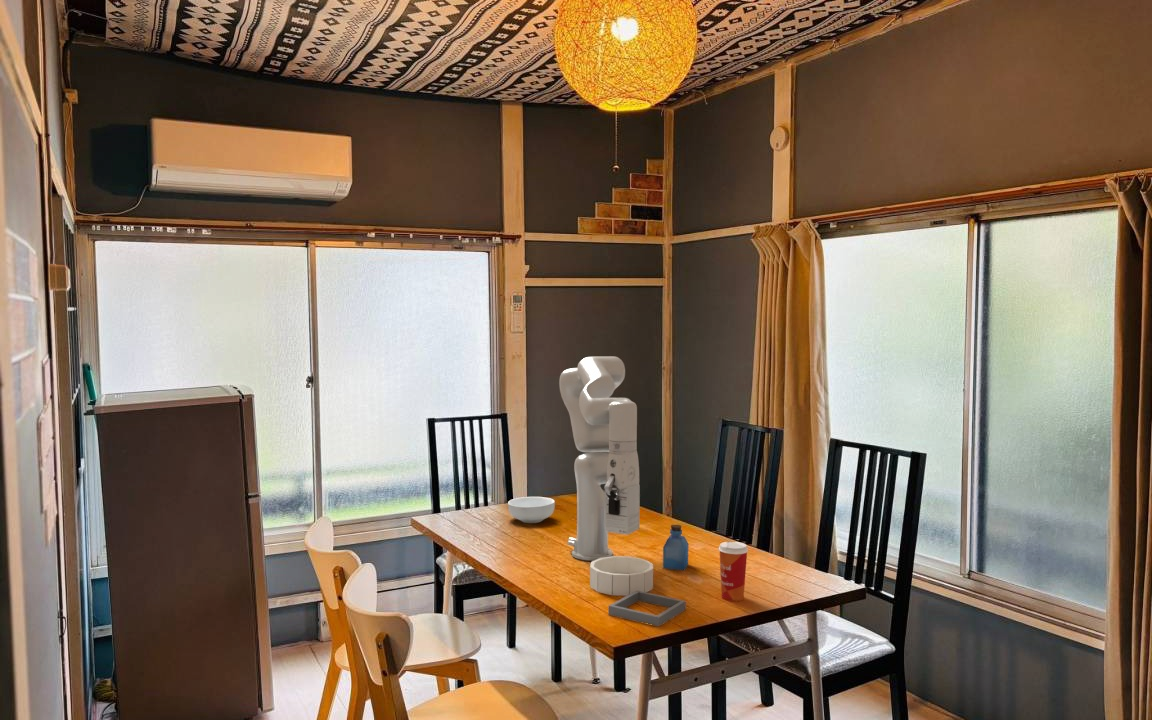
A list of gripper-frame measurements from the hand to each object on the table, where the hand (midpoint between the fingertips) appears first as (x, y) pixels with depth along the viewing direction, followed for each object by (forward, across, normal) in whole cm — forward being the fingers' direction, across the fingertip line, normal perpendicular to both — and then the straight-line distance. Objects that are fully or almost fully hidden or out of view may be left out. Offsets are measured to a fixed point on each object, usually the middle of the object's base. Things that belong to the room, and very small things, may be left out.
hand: (622, 510), depth 225 cm
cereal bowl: (+21, +43, +64) cm, 80 cm away
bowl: (+20, 0, 0) cm, 20 cm away
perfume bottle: (+21, +24, -4) cm, 32 cm away
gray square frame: (+20, -14, -16) cm, 30 cm away
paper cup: (+21, +8, -29) cm, 37 cm away
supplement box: (+6, 0, 0) cm, 6 cm away
